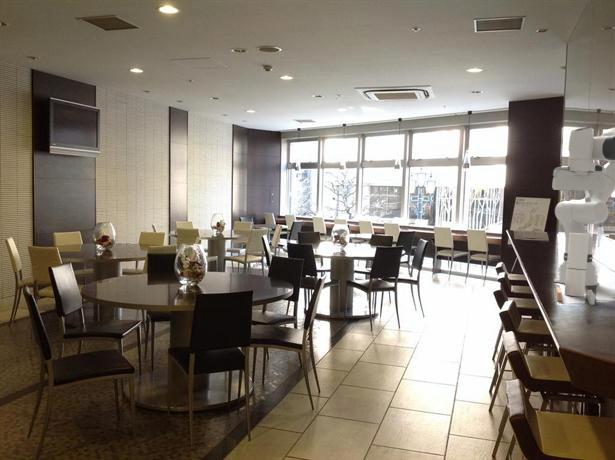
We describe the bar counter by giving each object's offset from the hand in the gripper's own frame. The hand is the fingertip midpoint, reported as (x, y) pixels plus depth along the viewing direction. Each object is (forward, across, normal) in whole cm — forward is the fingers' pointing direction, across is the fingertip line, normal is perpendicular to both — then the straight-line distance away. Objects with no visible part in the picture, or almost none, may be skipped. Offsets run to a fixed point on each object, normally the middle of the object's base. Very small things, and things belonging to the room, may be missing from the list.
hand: (577, 201), depth 216 cm
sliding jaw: (+38, -10, -10) cm, 40 cm away
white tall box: (+38, 0, -1) cm, 38 cm away
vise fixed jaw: (+38, 0, -14) cm, 40 cm away
